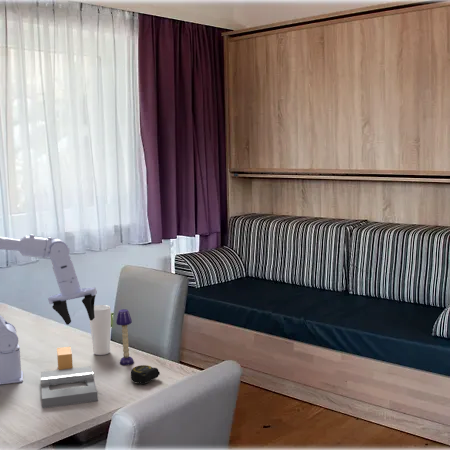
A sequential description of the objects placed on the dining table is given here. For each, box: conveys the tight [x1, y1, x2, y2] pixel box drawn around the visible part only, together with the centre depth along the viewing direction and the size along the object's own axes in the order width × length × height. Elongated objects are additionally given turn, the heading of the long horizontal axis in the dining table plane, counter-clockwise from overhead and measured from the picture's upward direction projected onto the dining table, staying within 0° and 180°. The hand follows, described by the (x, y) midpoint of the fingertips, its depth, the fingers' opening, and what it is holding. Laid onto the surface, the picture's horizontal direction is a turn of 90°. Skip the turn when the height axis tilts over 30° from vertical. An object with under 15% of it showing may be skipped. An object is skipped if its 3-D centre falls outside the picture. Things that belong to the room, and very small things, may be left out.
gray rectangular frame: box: [40, 365, 99, 409], centre depth 175 cm, size 14×20×2 cm
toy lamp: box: [116, 308, 135, 366], centre depth 195 cm, size 5×5×17 cm
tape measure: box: [130, 364, 161, 385], centre depth 181 cm, size 7×7×4 cm
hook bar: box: [40, 371, 95, 386], centre depth 175 cm, size 14×2×2 cm, turn 107°
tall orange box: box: [56, 346, 74, 370], centre depth 190 cm, size 4×7×6 cm, turn 17°
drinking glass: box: [88, 304, 112, 356], centre depth 204 cm, size 7×7×15 cm
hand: (80, 321), depth 190 cm, fingers open, 7 cm apart
